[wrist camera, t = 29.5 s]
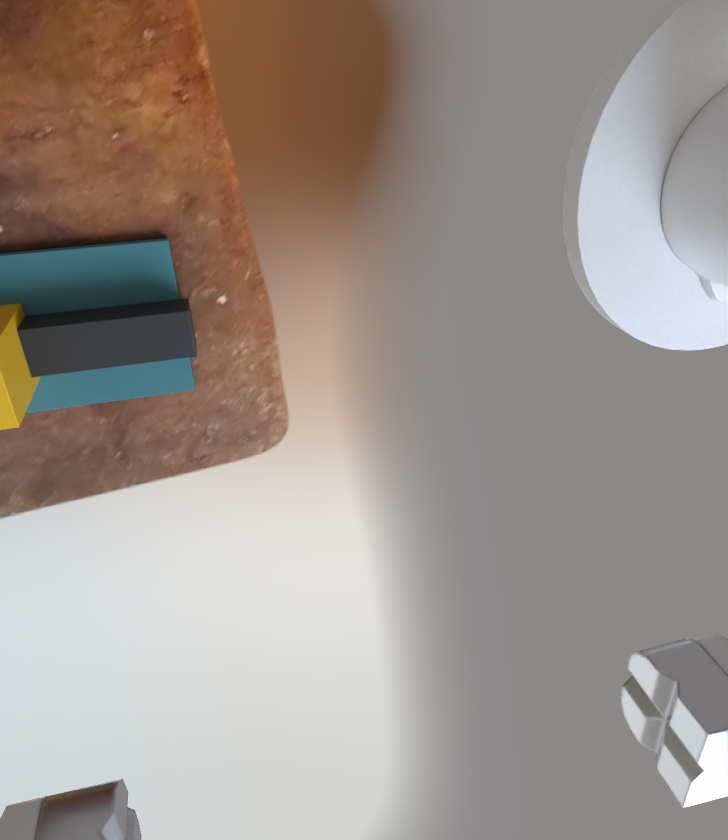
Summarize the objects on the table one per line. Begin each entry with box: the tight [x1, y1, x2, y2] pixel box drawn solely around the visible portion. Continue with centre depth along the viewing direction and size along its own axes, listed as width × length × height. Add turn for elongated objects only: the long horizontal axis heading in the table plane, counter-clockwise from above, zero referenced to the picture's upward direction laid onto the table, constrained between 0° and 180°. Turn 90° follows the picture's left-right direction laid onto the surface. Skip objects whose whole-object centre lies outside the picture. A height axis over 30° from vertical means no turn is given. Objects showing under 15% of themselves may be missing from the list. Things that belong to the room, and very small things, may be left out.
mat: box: [0, 238, 195, 413], centre depth 40 cm, size 14×10×1 cm
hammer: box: [0, 298, 197, 430], centre depth 37 cm, size 16×5×7 cm, turn 92°
